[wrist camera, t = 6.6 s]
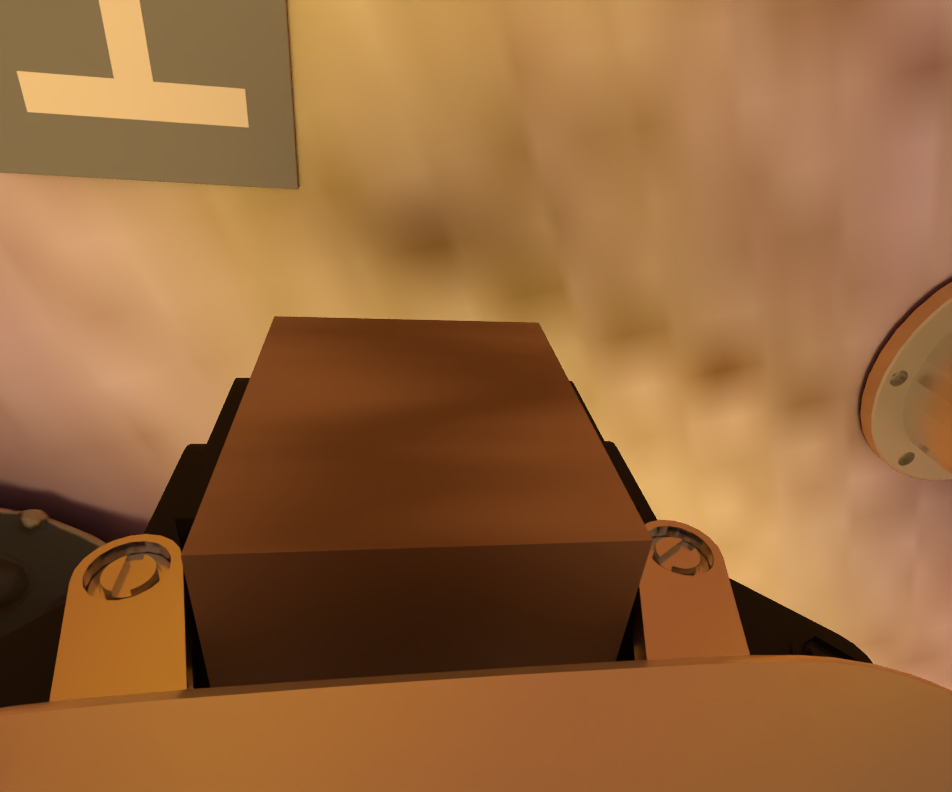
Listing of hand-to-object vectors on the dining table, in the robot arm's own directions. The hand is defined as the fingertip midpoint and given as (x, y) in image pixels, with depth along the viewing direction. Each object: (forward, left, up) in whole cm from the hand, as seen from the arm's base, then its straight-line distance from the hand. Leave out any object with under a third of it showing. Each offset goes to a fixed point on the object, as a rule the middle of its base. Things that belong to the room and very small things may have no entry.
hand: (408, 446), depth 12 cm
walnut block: (0, 0, -1) cm, 1 cm away
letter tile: (+9, -7, -14) cm, 18 cm away
